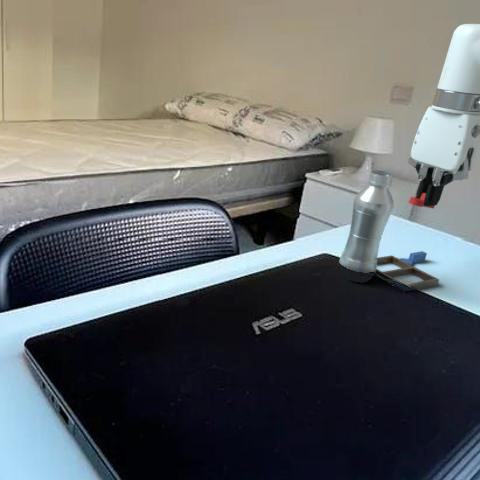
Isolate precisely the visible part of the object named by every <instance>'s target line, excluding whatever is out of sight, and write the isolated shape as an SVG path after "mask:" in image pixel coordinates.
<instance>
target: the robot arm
mask: <svg viewBox="0 0 480 480" xmlns="http://www.w3.org/2000/svg"><path fill="white" fill-rule="evenodd" d="M437 83H438V84H437V87H436V90H435V94H434V97H433V101H432V104H431V106H427V107H428V108H427V109H426V111H425V113H424V115H423V117H422V119H421V121H420V123H419V126H418V129H417V131H416V134H415V137H414V140H413V142H412V145H411V150H410V157H409V159H408V161H407V162H408V164H409V165H410V166H412V167H413V168H415V171H416V173H417V180H418V181H419V184H418V187H417V190H416V193H415V194H416V195H415V198H418V199H420V197H421V195H422V192H423V193H426V196H425V199H424V201H425V202H424V205H425V206H434V207H435V206H437V205H438V203H439V202H440V201H441V200H440V199H441V198H442V194H443V191H444V188H445V186H448V185H449V184H450V183H452V182H454V181H466V180H468V179H469V172H470V171H472V170H473V169H474V167H475V165H476V161H477V158H478V155H479V151H480V23H463V24H460V25H458V26H457V27H456V29H455V30H454V31H453V34H452V37H451V40H450V43H449V46H448V50H447V53H446V57H445V60H444V63H443V67H442V70H441V73H440V77H439V81H438V82H437ZM436 170H437V171H436Z"/></svg>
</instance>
